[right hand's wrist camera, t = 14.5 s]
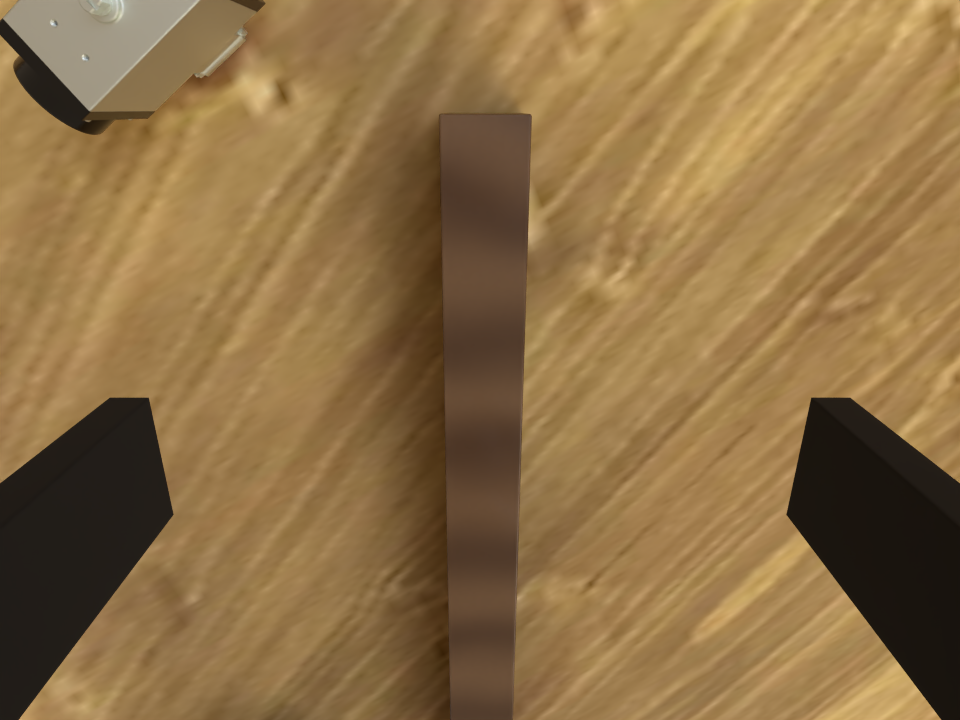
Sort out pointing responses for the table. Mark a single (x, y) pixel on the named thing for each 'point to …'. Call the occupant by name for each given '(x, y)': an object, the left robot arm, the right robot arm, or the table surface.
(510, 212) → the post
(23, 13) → the pneumatic valve
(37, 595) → the right robot arm
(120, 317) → the table surface
